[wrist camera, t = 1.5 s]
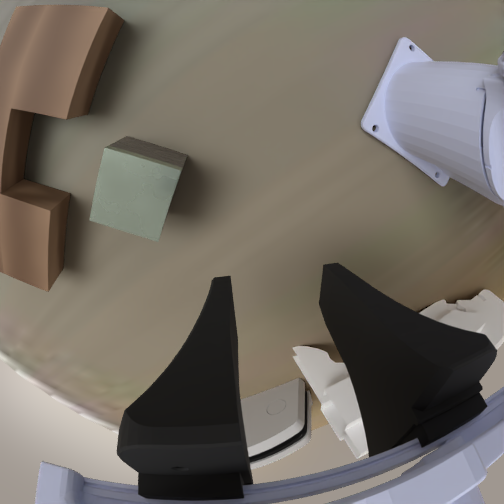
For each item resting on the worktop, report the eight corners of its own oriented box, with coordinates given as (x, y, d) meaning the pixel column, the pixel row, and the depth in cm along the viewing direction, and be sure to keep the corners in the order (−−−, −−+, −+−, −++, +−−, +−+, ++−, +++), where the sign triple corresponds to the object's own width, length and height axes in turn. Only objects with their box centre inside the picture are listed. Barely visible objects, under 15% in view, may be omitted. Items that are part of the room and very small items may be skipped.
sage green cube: (187, 154, 16) (181, 170, 13) (167, 212, 18) (158, 241, 15) (127, 136, 15) (104, 147, 12) (111, 195, 17) (89, 220, 13)
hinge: (199, 431, 34) (186, 486, 24) (180, 409, 33) (161, 465, 23) (314, 393, 32) (327, 454, 22) (299, 368, 31) (311, 430, 21)
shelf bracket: (291, 332, 25) (366, 445, 15) (455, 257, 31) (523, 308, 21) (292, 366, 28) (352, 465, 18) (446, 289, 34) (506, 341, 23)
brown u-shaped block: (124, 20, 11) (108, 7, 9) (63, 268, 19) (48, 291, 16) (39, 14, 9) (16, 6, 6) (-2, 243, 17) (-20, 262, 14)
